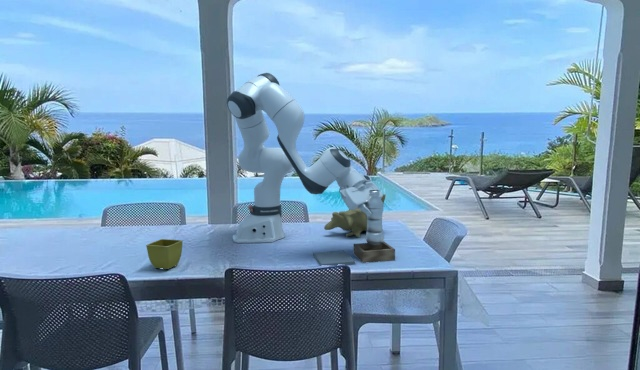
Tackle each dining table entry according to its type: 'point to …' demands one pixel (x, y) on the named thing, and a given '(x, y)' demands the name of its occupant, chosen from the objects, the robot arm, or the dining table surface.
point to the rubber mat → (333, 258)
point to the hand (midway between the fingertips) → (376, 213)
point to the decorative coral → (350, 221)
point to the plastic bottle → (374, 219)
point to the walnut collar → (374, 252)
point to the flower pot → (164, 253)
